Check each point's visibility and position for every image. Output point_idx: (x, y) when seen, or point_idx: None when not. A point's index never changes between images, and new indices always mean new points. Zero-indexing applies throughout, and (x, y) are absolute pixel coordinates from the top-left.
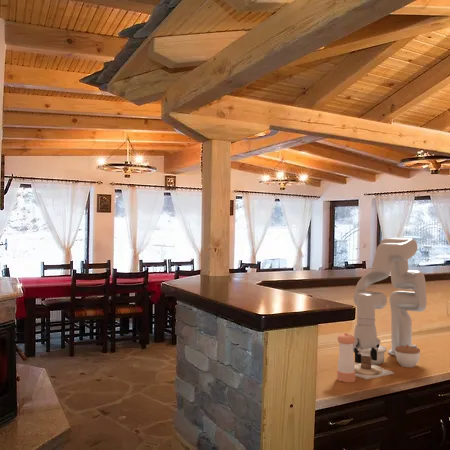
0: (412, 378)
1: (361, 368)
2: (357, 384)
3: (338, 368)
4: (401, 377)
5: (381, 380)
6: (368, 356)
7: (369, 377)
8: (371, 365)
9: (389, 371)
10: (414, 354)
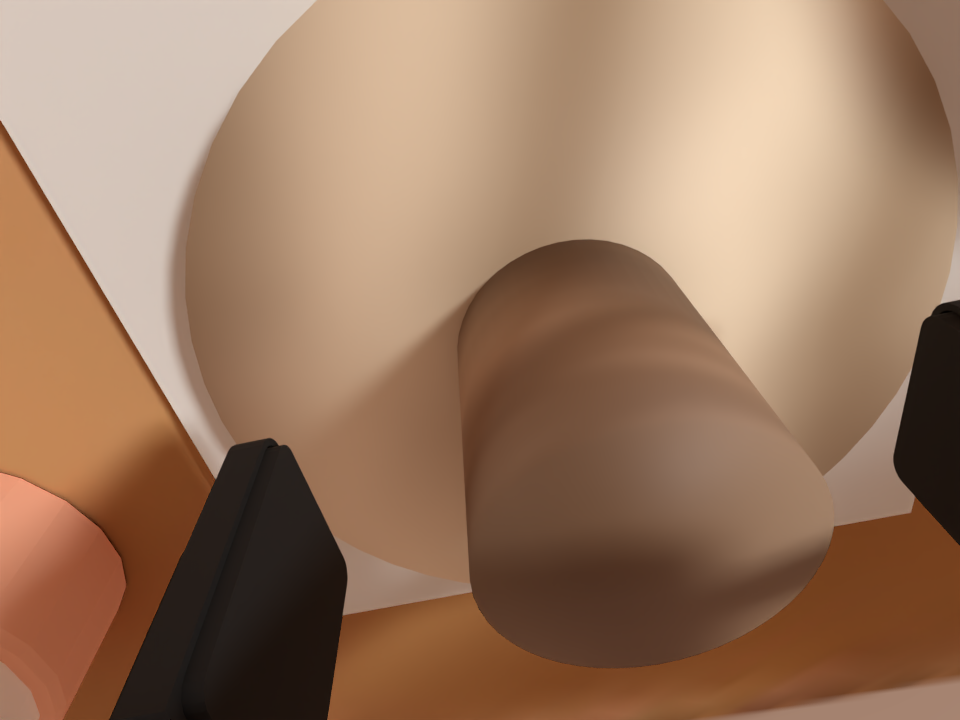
0: (881, 663)
1: (436, 369)
2: (91, 701)
3: None
4: (809, 621)
5: (478, 654)
6: (696, 600)
7: (361, 610)
8: (852, 221)
9: (892, 469)
10: None
